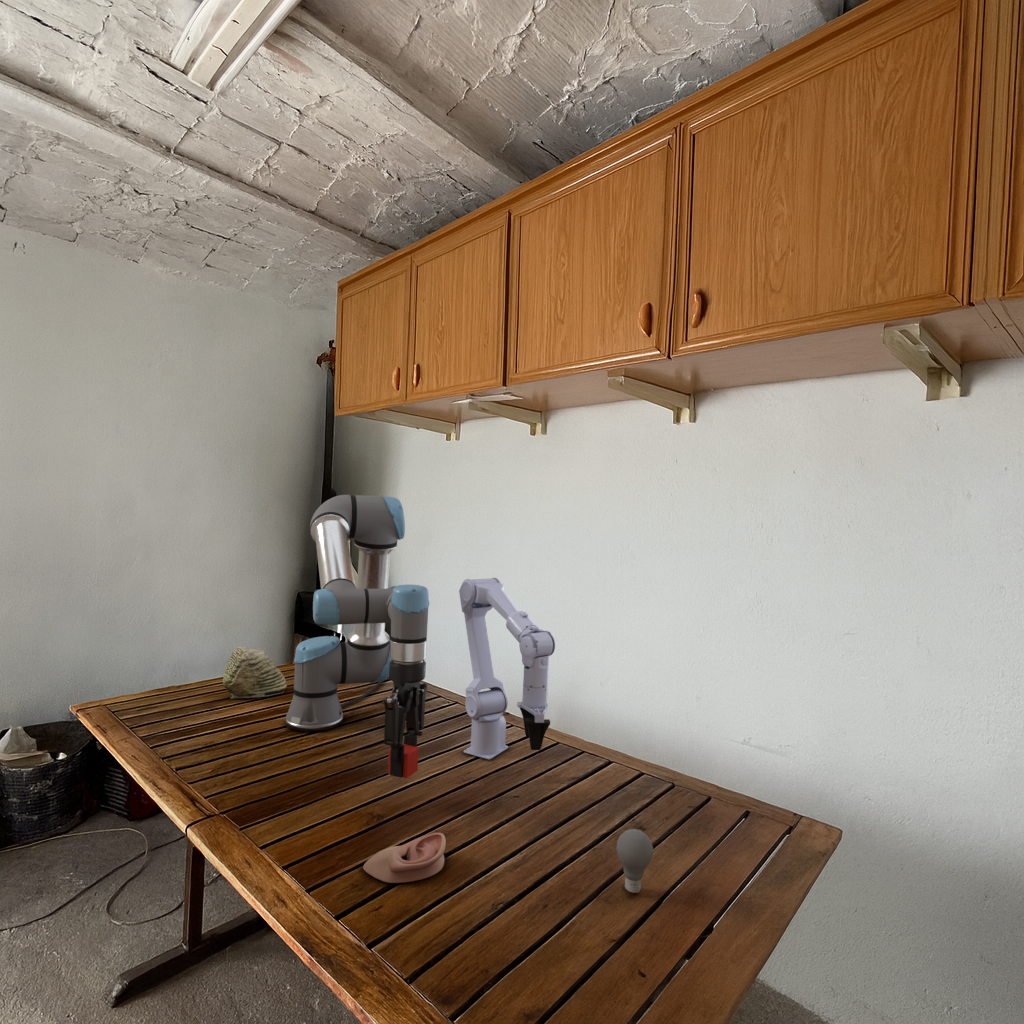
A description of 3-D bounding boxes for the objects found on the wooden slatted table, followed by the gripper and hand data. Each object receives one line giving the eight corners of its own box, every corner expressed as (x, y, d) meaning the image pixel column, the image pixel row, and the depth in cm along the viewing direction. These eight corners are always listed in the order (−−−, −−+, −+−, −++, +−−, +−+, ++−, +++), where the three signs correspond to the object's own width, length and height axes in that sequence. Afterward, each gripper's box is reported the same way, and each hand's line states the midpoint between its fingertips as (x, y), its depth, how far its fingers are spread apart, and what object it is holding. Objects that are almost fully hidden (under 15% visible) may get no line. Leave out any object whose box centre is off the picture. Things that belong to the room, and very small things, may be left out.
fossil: (218, 695, 195) (220, 647, 195) (278, 685, 208) (279, 640, 207) (228, 703, 189) (230, 653, 188) (289, 692, 201) (290, 645, 201)
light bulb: (610, 879, 108) (613, 822, 108) (644, 879, 109) (647, 822, 109) (619, 902, 102) (622, 840, 102) (655, 901, 103) (658, 840, 103)
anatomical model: (355, 854, 106) (383, 820, 117) (354, 877, 106) (382, 841, 117) (431, 866, 103) (452, 831, 114) (430, 890, 103) (451, 852, 114)
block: (399, 766, 135) (399, 743, 135) (417, 770, 133) (418, 747, 133) (387, 773, 131) (388, 750, 131) (406, 778, 130) (407, 754, 129)
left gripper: (413, 649, 141) (409, 752, 142) (368, 667, 125) (363, 783, 126) (443, 653, 138) (439, 759, 139) (400, 672, 122) (395, 792, 123)
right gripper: (514, 675, 153) (511, 731, 153) (522, 694, 138) (520, 755, 139) (543, 675, 154) (540, 731, 154) (554, 694, 139) (551, 755, 139)
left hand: (403, 770), depth 132 cm, fingers closed on block, 4 cm apart
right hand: (532, 742), depth 146 cm, fingers open, 7 cm apart
